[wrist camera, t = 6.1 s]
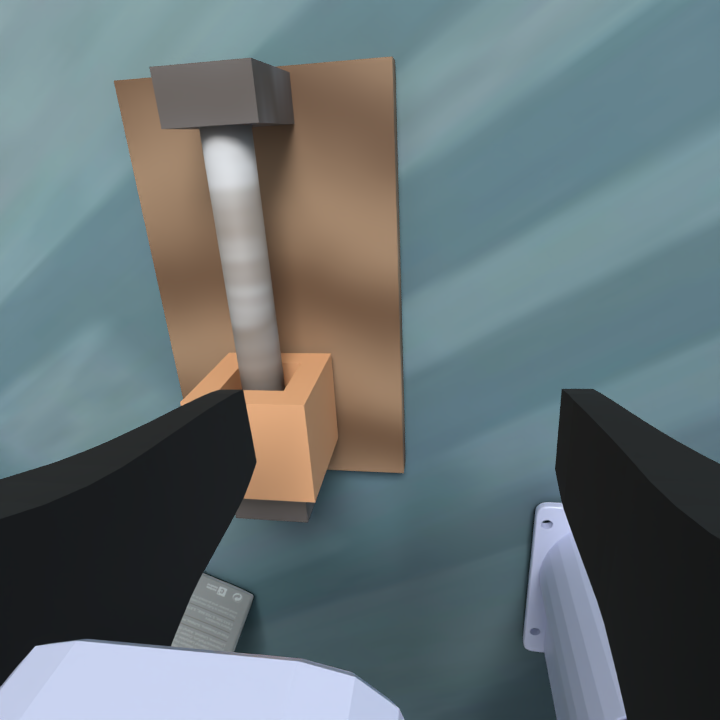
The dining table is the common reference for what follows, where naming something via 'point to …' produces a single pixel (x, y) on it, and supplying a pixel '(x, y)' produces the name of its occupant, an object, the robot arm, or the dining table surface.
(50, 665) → the robot arm
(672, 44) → the dining table surface
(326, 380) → the slider
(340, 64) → the rail
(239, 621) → the skincare box
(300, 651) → the dining table surface
